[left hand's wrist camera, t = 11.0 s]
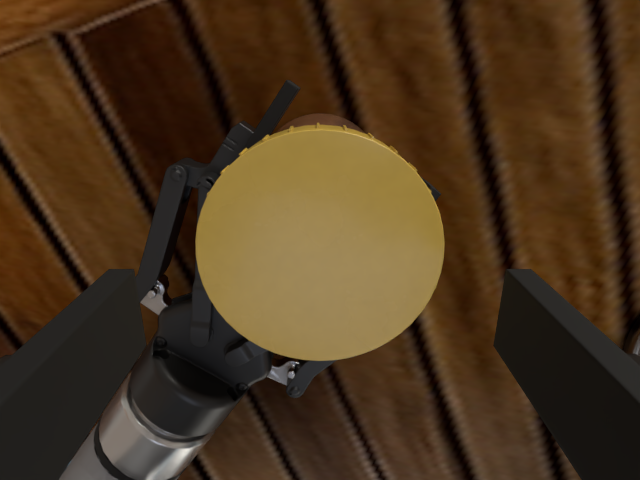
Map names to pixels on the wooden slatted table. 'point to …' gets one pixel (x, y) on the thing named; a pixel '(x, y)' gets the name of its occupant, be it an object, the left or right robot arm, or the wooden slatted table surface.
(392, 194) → the lid
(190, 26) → the wooden slatted table surface
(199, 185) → the right robot arm
